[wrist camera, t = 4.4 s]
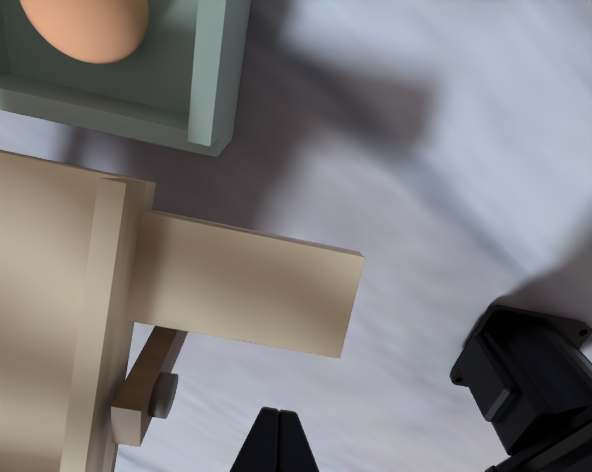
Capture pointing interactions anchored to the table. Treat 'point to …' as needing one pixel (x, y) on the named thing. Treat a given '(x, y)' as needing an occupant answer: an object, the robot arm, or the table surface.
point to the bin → (136, 76)
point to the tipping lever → (132, 300)
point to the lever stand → (147, 387)
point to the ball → (90, 26)
